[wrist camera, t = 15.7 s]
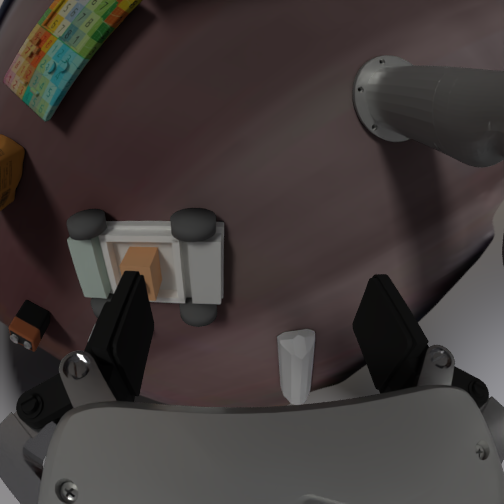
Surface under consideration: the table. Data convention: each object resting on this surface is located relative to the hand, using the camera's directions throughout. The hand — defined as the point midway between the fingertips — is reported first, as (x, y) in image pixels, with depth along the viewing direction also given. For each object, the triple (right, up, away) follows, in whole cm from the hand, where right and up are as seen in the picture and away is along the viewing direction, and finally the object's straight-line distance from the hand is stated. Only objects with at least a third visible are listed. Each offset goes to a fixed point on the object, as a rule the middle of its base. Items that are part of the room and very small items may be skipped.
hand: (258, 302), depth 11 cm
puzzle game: (-25, +31, +13) cm, 41 cm away
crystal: (+9, -22, +48) cm, 54 cm away
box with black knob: (-16, 0, +31) cm, 35 cm away
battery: (-47, -11, +38) cm, 61 cm away
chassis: (-17, +1, +32) cm, 36 cm away
